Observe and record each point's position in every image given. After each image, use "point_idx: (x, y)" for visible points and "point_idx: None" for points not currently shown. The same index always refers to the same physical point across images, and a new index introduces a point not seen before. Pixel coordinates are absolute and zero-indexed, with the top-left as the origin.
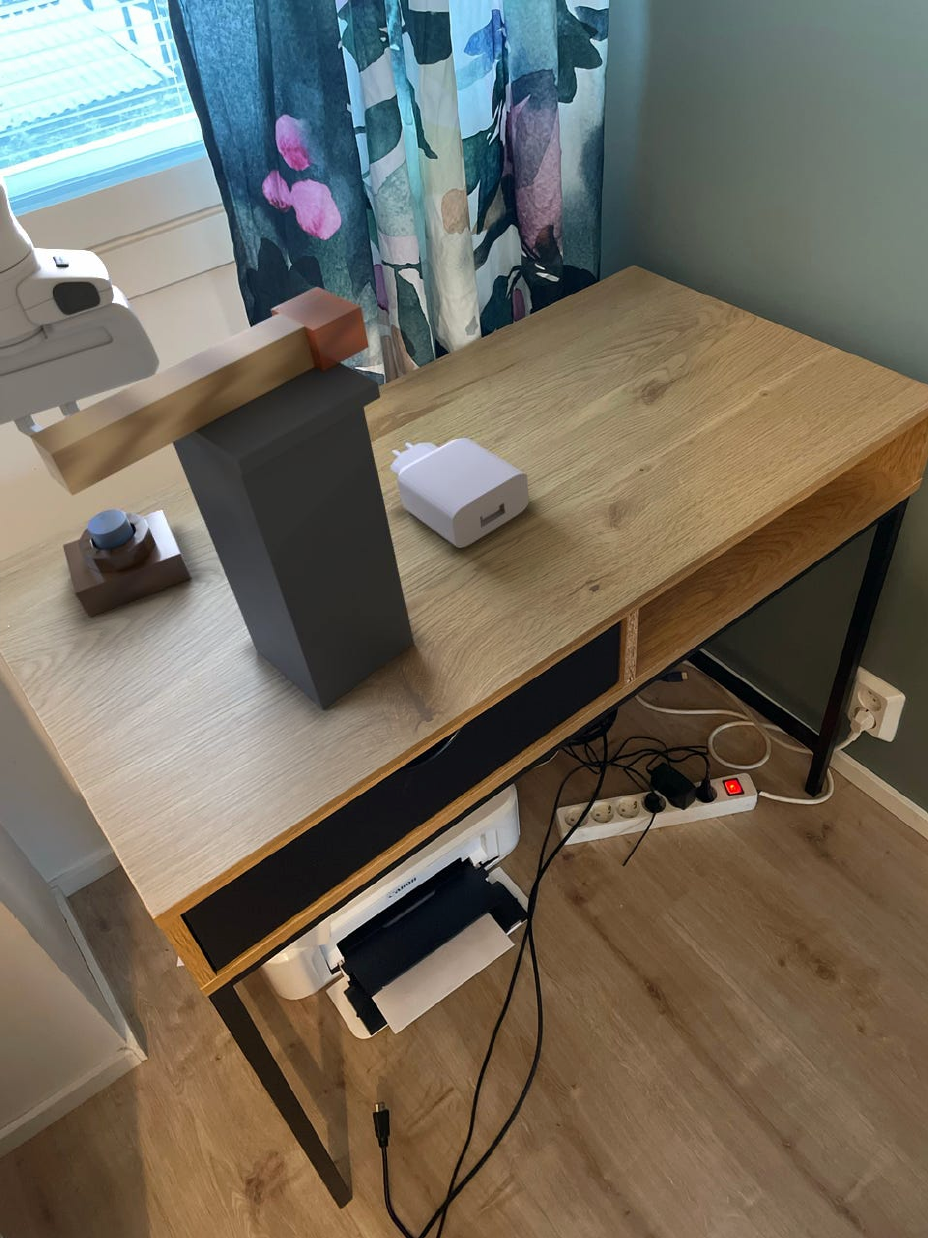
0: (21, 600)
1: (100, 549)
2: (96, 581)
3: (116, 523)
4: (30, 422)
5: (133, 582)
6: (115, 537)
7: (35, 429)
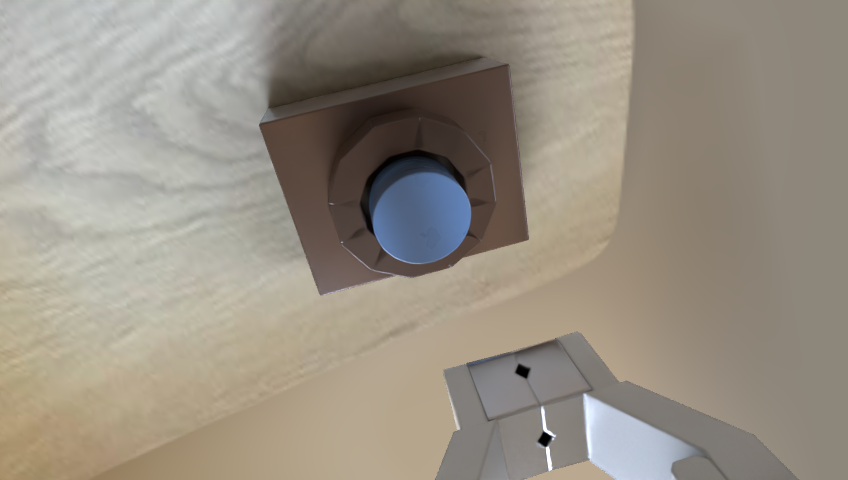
0: (605, 157)
1: None
2: (461, 89)
3: (396, 203)
4: (700, 478)
5: (382, 88)
6: (403, 168)
7: (652, 446)
